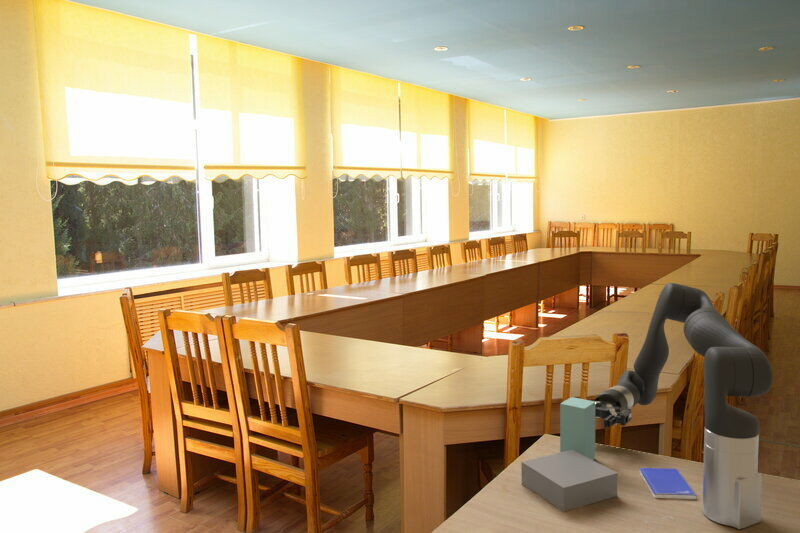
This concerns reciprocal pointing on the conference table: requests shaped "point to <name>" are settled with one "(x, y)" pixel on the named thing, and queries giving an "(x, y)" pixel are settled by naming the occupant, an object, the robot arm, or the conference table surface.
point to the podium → (569, 479)
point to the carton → (578, 426)
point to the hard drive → (667, 483)
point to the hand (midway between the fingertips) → (588, 420)
